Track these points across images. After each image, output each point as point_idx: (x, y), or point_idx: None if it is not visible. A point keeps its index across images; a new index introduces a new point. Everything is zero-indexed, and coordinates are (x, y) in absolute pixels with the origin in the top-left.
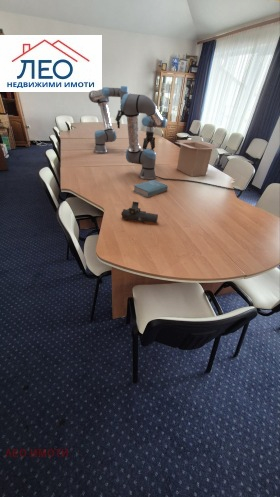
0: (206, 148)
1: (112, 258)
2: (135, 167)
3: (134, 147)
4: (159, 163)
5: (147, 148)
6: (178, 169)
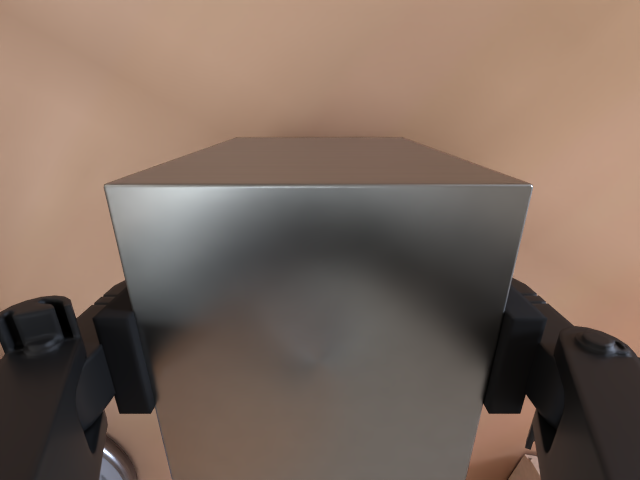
0: None
1: None
2: (89, 168)
3: None
4: (581, 201)
5: (394, 226)
6: (513, 476)
